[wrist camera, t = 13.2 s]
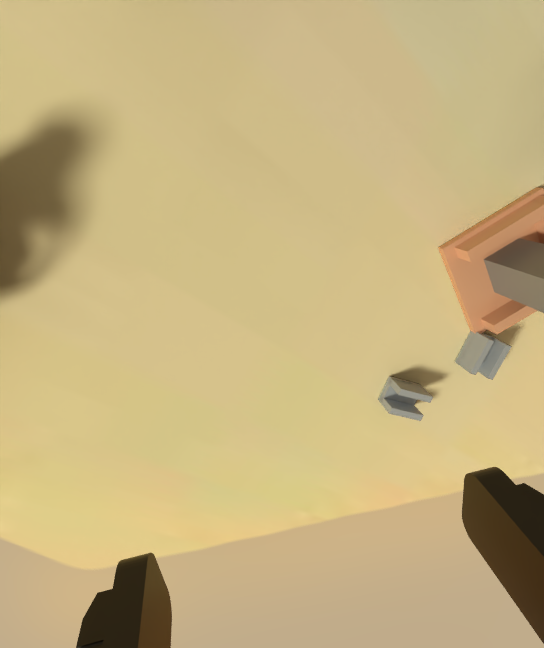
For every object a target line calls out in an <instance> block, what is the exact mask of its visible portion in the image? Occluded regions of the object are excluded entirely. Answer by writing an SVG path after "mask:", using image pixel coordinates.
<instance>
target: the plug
mask: <svg viewBox="0 0 544 648" xmlns="http://www.w3.org/2000/svg"><path fill="white" fill-rule="evenodd" d="M484 262H485V265H486V268H487V271H488V274H489V277H490V280H491V283H492V286H493V289H494V292H495V293H498V294H500V295H502V296H505V297H507V298H510V299H512V300H514V301H517V302H519V303H521V304H524V305H526V306H528V307H531V308H533V309H535V310H538V311H540V312H543V313H544V244H542V243H538V242H534V241H529V240H525V239H520V238H518V239H517V240H515V241H513V242H512V243H510V244H508V245H507V246H505V247H503V248H502V249H500V250H498V251H497V252H495V253H493V254H492V255H490V256H488V257H486V258H485V259H484Z"/></svg>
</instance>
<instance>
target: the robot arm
mask: <svg viewBox="0 0 544 648" xmlns="http://www.w3.org/2000/svg"><path fill="white" fill-rule="evenodd" d="M462 519H463V523H464V527H465V529H466V531H467V533H468V536H469V537H470V539H471V541H472V542H473V544H474V545H475V546H476V548H477V549H478V551H479V552H480V554H481V555H482V556H483V558H484V559H485V561H486V562H487V564H488V565H489V566H490V568H491V569H492V570H493V572H494V574H495V575H496V576H497V578H498V579H499V581H500V582H501V583H502V585H503V586H504V587H505V589H506V591H507V592H508V594H509V595H510V596H511V598H512V599H513V601H514V602H515V603H516V605H517V606H518V608H519V609H520V611H521V612H522V613H523V615H524V616H525V618H526V619H527V620H528V622H529V623H530V625H531V626H532V628H533V629H534V631H535V632H536V633H537V635H538V636H539V638H540V639H541V640H542V642H543V643H544V495H543V494H542V493H540V492H538V491H537V490H535V489H533V488H531V487H530V486H528V485H526V484H524V483H523V484H519V485H515V484H514V483H513V482H512V481H511V479H510V478H509V477H508V476H507V475H506V474H505V473H504V472H503V471H502V470H500V469H499V468H497V467H491V468H488V469H484V470H480V471H476V472H472V473H468V474H466V475H465V479H464V492H463V506H462ZM171 622H172V612H171V602H170V596H169V592H168V589H167V586H166V584H165V582H164V579H163V576H162V574H161V571H160V569H159V566H158V564H157V561H156V558H155V556H154V554H153V553H148V554H144V555H140V556H136V557H132V558H128V559H124V560H121V561H120V562H119V563H118V565H117V569H116V574H115V579H114V586H113V589H111V590H107V591H103V592H99V593H97V595H96V597H95V598H94V600H93V602H92V604H91V606H90V607H89V609H88V611H87V613H86V615H85V616H84V618H83V621H82V625H81V629H80V634H79V638H78V642H77V646H76V648H170V646H171Z"/></svg>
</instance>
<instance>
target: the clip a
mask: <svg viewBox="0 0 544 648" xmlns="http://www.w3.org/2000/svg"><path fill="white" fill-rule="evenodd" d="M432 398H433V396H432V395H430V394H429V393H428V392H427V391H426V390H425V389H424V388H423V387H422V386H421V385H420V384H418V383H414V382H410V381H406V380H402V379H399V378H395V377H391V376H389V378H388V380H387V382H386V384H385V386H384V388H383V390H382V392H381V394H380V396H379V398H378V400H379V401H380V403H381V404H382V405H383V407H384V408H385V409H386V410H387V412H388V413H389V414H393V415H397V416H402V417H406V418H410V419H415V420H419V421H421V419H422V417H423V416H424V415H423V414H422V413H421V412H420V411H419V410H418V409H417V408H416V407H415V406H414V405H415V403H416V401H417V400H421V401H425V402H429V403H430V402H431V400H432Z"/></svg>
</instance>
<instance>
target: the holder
mask: <svg viewBox="0 0 544 648" xmlns="http://www.w3.org/2000/svg"><path fill="white" fill-rule="evenodd" d="M518 238H520V239H525V240H529V241H534V242H538V243H542V244H544V189H543V188H538V187H536V188H535V189H533V190H532V191H530V192H528V193H527V194H525V195H523V196H522V197H520V198H518V199H517V200H515V201H514V202H512V203H510V204H509V205H507V206H505V207H504V208H502V209H500V210H499V211H497V212H496V213H494V214H492V215H491V216H489V217H487V218H486V219H484V220H482V221H481V222H479V223H478V224H476V225H474V226H473V227H471V228H469V229H468V230H466V231H464V232H463V233H461V234H460V235H458V236H456V237H455V238H453V239H451V240H450V241H448V242H446V243H445V244H443V245H442V246H440V247H438V248H439V251H440V253H441V256H442V259H443V261H444V264H445V266H446V269H447V271H448V274H449V277H450V279H451V282H452V284H453V287H454V289H455V292H456V294H457V297H458V300H459V302H460V305H461V307H462V310H463V312H464V315H465V317H466V320H467V323H468V325H469V328H470V330H471V332H473V333H475V334H476V332H478V333H483V332H485V331H486V330H490V331H491V332H493V333H495V334H499V333H501V332H502V331H504V330H506V329H507V328H509V327H511V326H512V325H514V324H516V323H517V322H519V321H521V320H522V319H524V318H526V317H527V316H529V315H531V314H532V313H534V312H536V311H537V310H535V309H533V308H531V307H528V306H526V305H524V304H521V303H519V302H517V301H514V300H512V299H510V298H507V297H505V296H502V295H500V294H498V293H495V292H494V289H493V286H492V283H491V280H490V277H489V274H488V271H487V268H486V265H485V262H484V259H485V258H486V257H488V256H490V255H492V254H493V253H495V252H497V251H498V250H500V249H502V248H503V247H505V246H507V245H508V244H510V243H512V242H513V241H515V240H517V239H518Z"/></svg>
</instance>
